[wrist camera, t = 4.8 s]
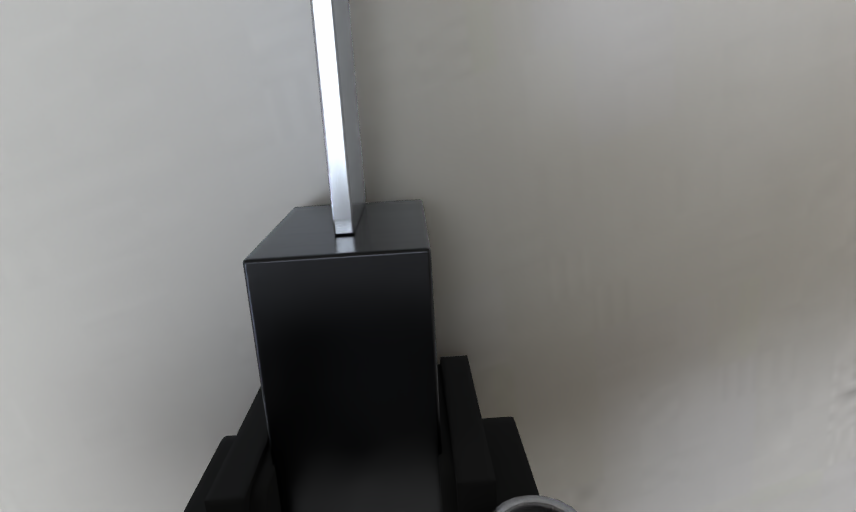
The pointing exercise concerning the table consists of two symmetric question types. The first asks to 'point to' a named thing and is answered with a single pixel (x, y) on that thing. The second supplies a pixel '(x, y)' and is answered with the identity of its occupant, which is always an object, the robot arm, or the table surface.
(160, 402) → the table surface
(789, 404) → the table surface
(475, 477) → the robot arm
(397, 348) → the screwdriver
